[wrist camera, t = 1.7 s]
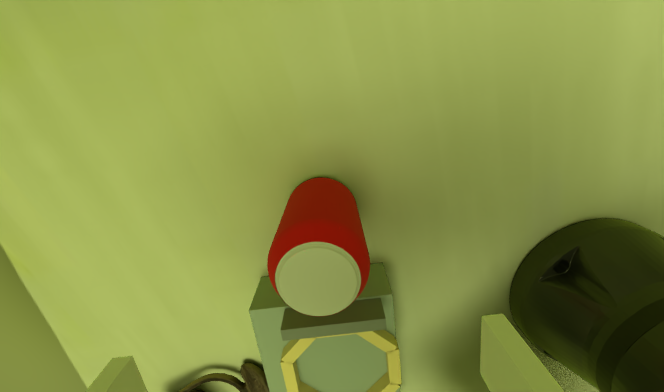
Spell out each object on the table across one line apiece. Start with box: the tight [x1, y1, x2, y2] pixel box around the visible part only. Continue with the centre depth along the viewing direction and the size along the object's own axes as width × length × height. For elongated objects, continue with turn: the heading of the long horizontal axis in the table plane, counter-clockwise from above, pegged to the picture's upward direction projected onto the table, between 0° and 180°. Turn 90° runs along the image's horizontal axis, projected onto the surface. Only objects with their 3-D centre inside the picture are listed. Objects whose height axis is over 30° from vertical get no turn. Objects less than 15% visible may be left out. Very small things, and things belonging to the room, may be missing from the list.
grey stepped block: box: [249, 263, 402, 392], centre depth 29 cm, size 12×17×8 cm
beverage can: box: [267, 177, 370, 317], centre depth 23 cm, size 6×6×12 cm
